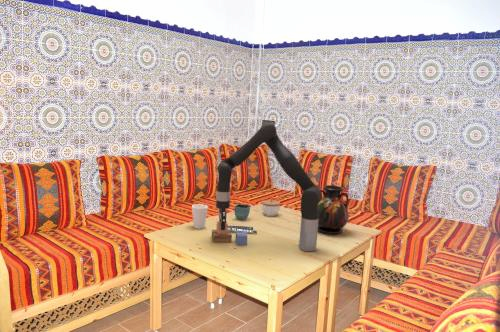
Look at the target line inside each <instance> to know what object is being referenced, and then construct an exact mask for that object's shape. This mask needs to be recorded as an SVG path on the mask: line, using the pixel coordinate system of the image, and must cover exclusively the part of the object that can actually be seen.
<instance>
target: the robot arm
mask: <svg viewBox="0 0 500 332" xmlns="http://www.w3.org/2000/svg"><path fill="white" fill-rule="evenodd" d="M263 143H265V144H266V146H267V147H268V148H269V149H270V150H271V152H272V153H273V155H274V157H275V159H276V161H277V163H278V164H279V166H280V167H281V169H282V170H283V171H284V173H285V174H286V175H287V176H288V177H289V178H290V179H291V180H292V181H294V182H295V183H296V184H297V185H298V186H299V188H300V189H301V190H302V193H301V196H300V197H301V198H300V214H301V218H300V227H299V228H300V231H299V243H298V248H299V249H300V250H302V251H304V252H316V251H317V245H318V243H317V241H318V232H319V231H318V221H319V213H318V203H319V202H320V201H321V199H322V198H323V195H322V194H323V192H321V191H320V190H321V189H319V187H318V186H317V185H316V183H314V181H312V180H313V179H311V178H310V177H309V175H308V174H307V172H306V170H305V169H304V168H303V167H302V165H301V162H299V160H298V158H297V157H296V155H294V154H293V152H291V150H290V149H288V148H287V147H286V146H285V145H284V143H283V142H282V140H281V138H280V137H279V135H278V133H277V128H276V126H275V124H273V123H271V122H266V123H264V124H262V125H261V126H260V128H259V129H258V130H257V131H256V132H255V133H254V135H253V136H252V137H251V138H250V139H249V140H247V141H246V142H245V143H244V144H243V145H242V146H241V147H239V148H238V149H237V150H236V151H234V152H233V153H232V154H231V155H230V156H229V157H227V158H225V159H224V160H222V161H221V162H220V163H218V164H217V167H216V171H217V173H218V181H217V185H216V196H215V197H216V202H215V207H216V208H217V209H218V221H221V230H225V224H226V222H227V214H228V213H227V209H229V208H230V206H231V204H230V203H231V180H232V172H233V171H232V170H233V169H234V168H235V167H239V166H240V165H241V164H243V163H244V162H245V161H246V160H248V158H249V157H251V156H252V154H253V153H254V152H255V151H256V150H257V149H258V148H259V147H260V146H261V145H262V144H263Z"/></svg>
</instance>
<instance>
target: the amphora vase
mask: <svg viewBox="0 0 500 332" xmlns="http://www.w3.org/2000/svg"><path fill="white" fill-rule="evenodd" d="M319 190H320V191H321V193H322V194H323V196H322V199H321V201H320V202H319V203H318V213H319V221H318V232H319V233H321V234H324V235H329V236H330V235H331V236H336V235H337V236H338V235H341V234H343V232H344V227H346V225H347V224H348V222H349V218H350V214H349V208H348V207H349V195H348V193H346V192H344V190H345V187H342V186H338V185H330V184H329V185H328V184H327V185H324V186H322V189H319ZM342 196H345V197H346V201H345V202H344V200H343V199H342Z"/></svg>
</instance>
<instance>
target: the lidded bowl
mask: <svg viewBox="0 0 500 332" xmlns="http://www.w3.org/2000/svg"><path fill="white" fill-rule="evenodd" d="M261 206H262V207H261V208H262V212H263V214H264V215H265V216H267V217H275V216H276V215H277V214H279V212H280V208H281V202H280V201H278V200H275V199H265V200H262V202H261Z"/></svg>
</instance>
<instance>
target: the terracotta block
mask: <svg viewBox="0 0 500 332" xmlns="http://www.w3.org/2000/svg"><path fill="white" fill-rule="evenodd" d="M215 225H216V229H215V230H216V232H217V234H227V229H228V226H229V225H228V222H227V221H226V224H225V230H221V221H219V220H218V221H216V224H215Z"/></svg>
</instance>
